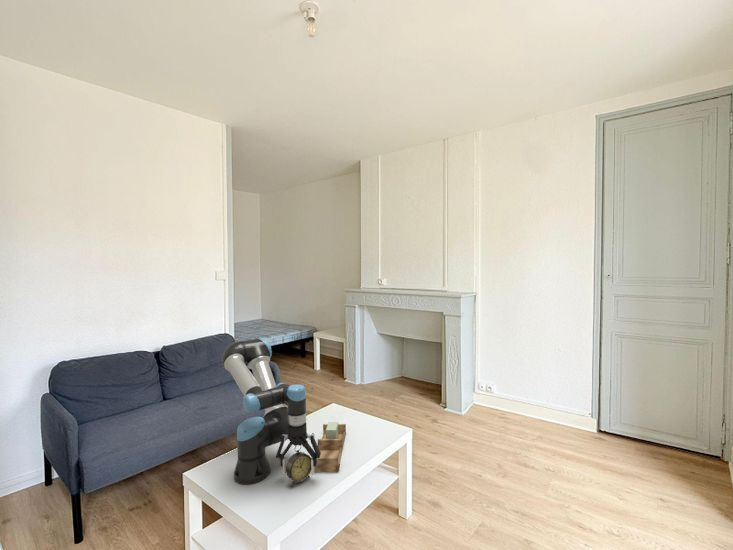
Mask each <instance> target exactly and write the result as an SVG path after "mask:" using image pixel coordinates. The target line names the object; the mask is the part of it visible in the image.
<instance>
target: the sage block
mask: <svg viewBox="0 0 733 550" xmlns="http://www.w3.org/2000/svg"><path fill="white" fill-rule="evenodd" d="M327 424H328V425H327V428H326V439H338V424H339V421H328V423H327Z"/></svg>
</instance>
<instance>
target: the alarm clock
mask: <svg viewBox="0 0 733 550" xmlns="http://www.w3.org/2000/svg"><path fill="white" fill-rule="evenodd" d="M297 446H298V445H296V446H295V447H294V451H295V453H293V454H291V456H290V457H289V459H288V460H287V461H286V474H285V475H286V476H287V478H288V479H290V480H292V484H291V487H292V488H293V486H294V485H295V483H301V482H303V481H305V480H306V479H307V478H311V477H310V474H311V456H310V454H308V453H306V452H303V451H301V449H302V446H300V448H299V449H297V450H296V448H297Z"/></svg>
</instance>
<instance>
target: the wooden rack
mask: <svg viewBox="0 0 733 550" xmlns="http://www.w3.org/2000/svg"><path fill="white" fill-rule="evenodd" d="M327 425H328V423H323V424H322V432H323V434H322V438H317V445H318V448H319V450H320V453H321V455H320V458H317V464H316V466H314V470H315V472H314V473H339V472H340V466H341V459H342V453H343V450H344V444H345V441H346V434H347V429H346V427H347V426H346V425H347V424H346V423H338V439H326V428H327ZM310 457H311V456H310ZM311 459H312V457H311Z"/></svg>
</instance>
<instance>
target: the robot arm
mask: <svg viewBox="0 0 733 550" xmlns="http://www.w3.org/2000/svg"><path fill="white" fill-rule="evenodd" d="M272 354H273V350H272V347H271V344H270V342H269V340H267V339H266V338H264V337H260V338H258V337H256V338H253V339H247V340H241V341H234V342H232V343H231V344H229V345H228V346H227V347H226V348H225V349H224V351H223V354H222V358H221V360H222V365H223V367H224V369H225V370H226V371H228V372H229V373H230V375H231V376H232V378H233V380H234V382H235V383H236V385H237V386H238V388H239V390H240V392H241V394H242V395H243V396H242V407H243V410H244V411H245V413H247V414H250V413H257V412H259V411H264V415H263V417H262V416H253V417H248V418H247V419H245V420H243V421H242V422H241V423H240V424H239V425H238V427H237V429H236V440H237V441H236V444H237V446H236V447H237V462H236V464H235V469H234V471H233V479H234V481H235V483H237V482H238V484H241V485H253V484H257V483H259V482H261V481H263V480H265V479H266V478H267V477H268V476H269V475H270V474H271V473H270V472H271V464H270V462H269V460H268V456H267V454H266V448H268V447H270V446H273V445H276V444H278V443H279V446H278V449H277V452H276V454H275V458H276V459H279V460H280V464H279V465H280V467H282V476H286V475H287V474H286V465H287V456H286V455H287V453H288V452H289V450H290V449H291V448H292V446H296V445H297V446H300V447H303V448H304V449H305V451H307V454H308V455H309V456H310V457H312V459H311V472H310V474H311V476H314V475H315V473H316V472H315V470H314V466H316V464H317V458H320V455H321V453H320V450H319V448H318V442H317V441H316V437H315V433H314V432H312V433H311V434H308V432H307V429H308V428H307V402H306V401H307V399H306V398H307V393H306V387H305V385H303V384H288V383H285V382H279V383H278V384H276V381H275V377H274V375H273V372H272V370H271V367H270V361H271V357H272ZM250 370H252V372H251V371H250ZM307 439H308V440H309V441H310V443H311V445H312V447H311V445H310V444H309V441H308V440H307ZM287 440H288V441H289V443H288V445H287V446H286V447H285V449H284V450H283V452H282V449H283V448H284V447H283V446H284V444H285V442H286V441H287ZM297 446H296V447H297Z"/></svg>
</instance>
